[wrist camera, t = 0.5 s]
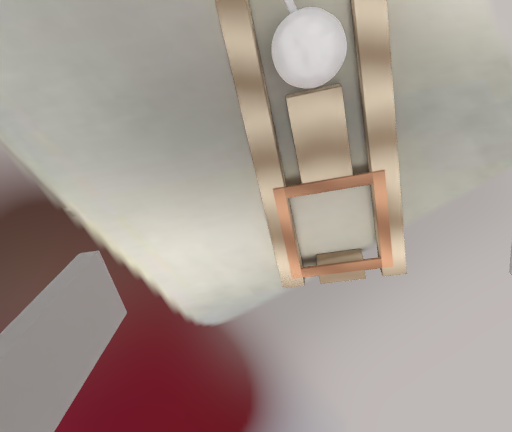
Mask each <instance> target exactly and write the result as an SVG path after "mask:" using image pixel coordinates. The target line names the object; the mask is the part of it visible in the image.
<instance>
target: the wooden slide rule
mask: <svg viewBox="0 0 512 432" xmlns="http://www.w3.org/2000/svg"><path fill="white" fill-rule="evenodd" d="M215 3H216V7H217V11H218V15H219V20H220V24H221V28H222V32H223V37H224V41H225V45H226V49H227V53H228V58H229V62H230V66H231V70H232V75H233V79H234V83H235V87H236V92H237V96H238V100H239V104H240V108H241V113H242V117H243V121H244V125H245V130H246V134H247V138H248V142H249V146H250V151H251V155H252V159H253V163H254V168H255V172H256V176H257V180H258V185H259V189H260V193H261V197H262V201H263V206H264V210H265V214H266V218H267V223H268V227H269V231H270V235H271V239H272V244H273V248H274V252H275V256H276V261H277V265H278V269H279V273H280V278H281V282H282V286H283V288H289V287H298V286H304V285H305V277H311V276H319V278H320V283H321V284H322V283H332V282H340V281H349V280H357V279H365V278H366V276H365V270H369V269H377V268H380V269H381V272H382V275H383V276H391V275H400V274H406V273H407V271H406V257H405V245H404V230H403V216H402V202H401V189H400V175H399V161H398V148H397V134H396V120H395V106H394V93H393V79H392V65H391V52H390V38H389V24H388V10H387V0H351V8H352V17H353V26H354V36H355V45H356V54H357V64H358V73H359V82H360V92H361V101H362V110H363V120H364V129H365V138H366V148H367V157H368V166H369V172H368V173H362V174H356V175H353V173H352V165H351V157H350V149H349V141H348V133H347V125H346V117H345V109H344V102H343V94H342V86H341V85H340V84H335V85H330V86H326V87H321V88H317V89H312V90H307V91H303V92H298V93H294V94H289V95H287V97H286V101H287V106H288V112H289V117H290V123H291V128H292V133H293V139H294V144H295V149H296V155H297V160H298V165H299V171H300V176H301V182H302V184H297V185H292V186H286V182H285V177H284V172H283V167H282V162H281V157H280V152H279V147H278V142H277V138H276V133H275V128H274V123H273V118H272V113H271V108H270V103H269V98H268V94H267V89H266V84H265V79H264V74H263V69H262V64H261V59H260V55H259V50H258V45H257V40H256V35H255V30H254V25H253V20H252V15H251V11H250V6H249V1H248V0H215ZM364 185H371V194H372V204H373V213H374V222H375V232H376V241H377V250H378V258H371V259H363V256H362V252H361V249H354V250H347V251H339V252H332V253H324V254H317V255H316V256H317V265H316V266H308V267H303V265H302V260H301V255H300V250H299V245H298V240H297V235H296V230H295V226H294V221H293V216H292V211H291V206H290V201H289V198H291V197H297V196H303V195H309V194H315V193H321V192H327V191H333V190H340V189H346V188H352V187H358V186H364Z"/></svg>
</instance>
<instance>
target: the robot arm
mask: <svg viewBox="0 0 512 432" xmlns="http://www.w3.org/2000/svg"><path fill="white" fill-rule="evenodd" d="M509 272H510V274H511V275H512V246H511V259H510V271H509ZM126 313H127V312H126V309H125V307H124V305H123V303H122V300H121V298H120V296H119V294H118V292H117V289H116V287H115V285H114V283H113V281H112V279H111V276H110V274H109V272H108V270H107V268H106V265H105V263H104V261H103V259H102V257H101V254H100V252H99V251H94V252H86V253H79V255H77V256H76V257H75V258H74V259H73V260H72V262H71V263H69V264H68V266H67V267H66V268H65V269H64V270H63V271H62V272H61V273H60V274H59V275H58V276H57V277H56V278H55V279H54V280H53V281H52V282H51V283H50V284H49V285H48V286H47V287H46V288H45V289H44V290H43V291H42V292H41V293H40V294H39V295H38V296H37V297H36V298H35V299H34V300H33V301H32V302H31V303H30V304H29V305H28V306H27V307H26V308H25V309H24V310H23V311H22V312H21V313H20V314H19V315H18V316H17V317H16V318H15V319H14V320H13V322H11V323H10V324H9V326H7V328H6V329H5V330H4V331H3V332H2V333H1V334H0V432H54V431H55V429H56V428H57V426H58V424H59V423H60V421H61V419H62V418H63V416H64V414H65V413H66V411H67V410H68V408H69V406H70V405H71V403H72V402H73V400H74V398H75V397H76V395H77V393H78V392H79V390H80V388H81V387H82V385H83V384H84V382H85V380H86V378H87V377H88V375H89V374H90V372H91V370H92V369H93V367H94V365H95V364H96V362H97V361H98V359H99V357H100V356H101V354H102V353H103V351H104V349H105V348H106V346H107V344H108V343H109V341H110V340H111V338H112V336H113V335H114V333H115V331H116V330H117V328H118V326H119V325H120V323H121V322H122V320H123V318H124V317H125V315H126Z"/></svg>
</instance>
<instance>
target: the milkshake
mask: <svg viewBox="0 0 512 432" xmlns="http://www.w3.org/2000/svg"><path fill="white" fill-rule="evenodd" d="M284 1H285V4H286V6H287V8H288V11H289V13H290V14H289V15H288V16H287V17H286V18H285V19H284V20H283V21H282V22H281V23H280V24H279V26H278V27H277V29H276V31H275V34H274V37H273V41H272V48H271V53H272V59H273V63H274V66H275V68H276V70H277V72H278V74H279V75H280V76H281V78H282V79H283V80H284V81H286V82H287V83H288V84H290V85H292V86H295V87H300V88H315V87H318V86H321V85H323V84H325V83H326V82H328V81H329V80H331V79H332V78H333V77H334V76H335V75H336V74H337V72H338V71H339V69H340V68H341V66H342V64H343V62H344V60H345V57H346V52H347V40H346V36H345V32H344V30H343V27H342V25H341V23H340V21H339V20H338V19H337V18H336V17H335V16H334V15H332V14H331V13H329V12H328V11H326V10H324V9H321V8H318V7H305V8H302V9H299V10H297V8H296V5H295V2H294V0H284Z"/></svg>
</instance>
